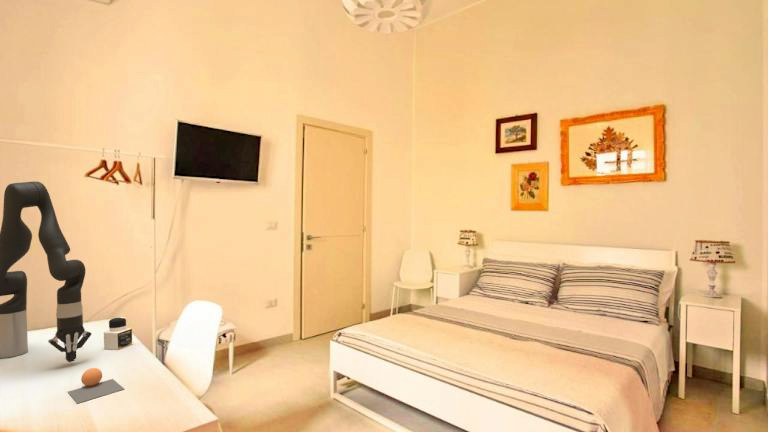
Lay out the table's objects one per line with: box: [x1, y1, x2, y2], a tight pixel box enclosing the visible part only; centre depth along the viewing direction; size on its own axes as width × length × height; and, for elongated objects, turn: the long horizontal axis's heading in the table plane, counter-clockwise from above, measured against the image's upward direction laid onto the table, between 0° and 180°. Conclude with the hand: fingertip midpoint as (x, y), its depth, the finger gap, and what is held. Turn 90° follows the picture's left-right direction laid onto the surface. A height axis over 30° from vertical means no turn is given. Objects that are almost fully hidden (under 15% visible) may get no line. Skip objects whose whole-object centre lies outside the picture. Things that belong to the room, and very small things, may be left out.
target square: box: [67, 378, 125, 405], centre depth 124 cm, size 12×12×1 cm
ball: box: [80, 367, 103, 387], centre depth 128 cm, size 6×6×6 cm
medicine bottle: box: [103, 316, 133, 351], centre depth 166 cm, size 7×7×12 cm
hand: (71, 361), depth 146 cm, fingers closed
